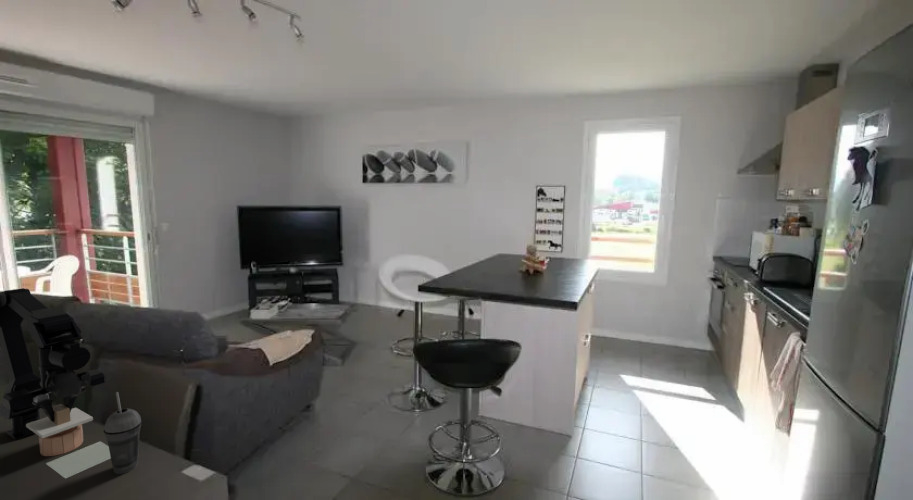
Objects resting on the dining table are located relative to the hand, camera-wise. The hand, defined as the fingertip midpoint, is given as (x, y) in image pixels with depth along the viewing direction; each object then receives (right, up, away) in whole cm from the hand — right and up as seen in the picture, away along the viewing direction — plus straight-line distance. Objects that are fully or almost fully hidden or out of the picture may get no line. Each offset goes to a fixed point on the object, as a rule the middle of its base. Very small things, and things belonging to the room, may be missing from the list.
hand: (59, 418), depth 107 cm
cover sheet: (0, -1, 0) cm, 1 cm away
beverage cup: (+23, -10, -7) cm, 26 cm away
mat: (+10, -9, -4) cm, 14 cm away
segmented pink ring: (0, -8, +1) cm, 8 cm away
